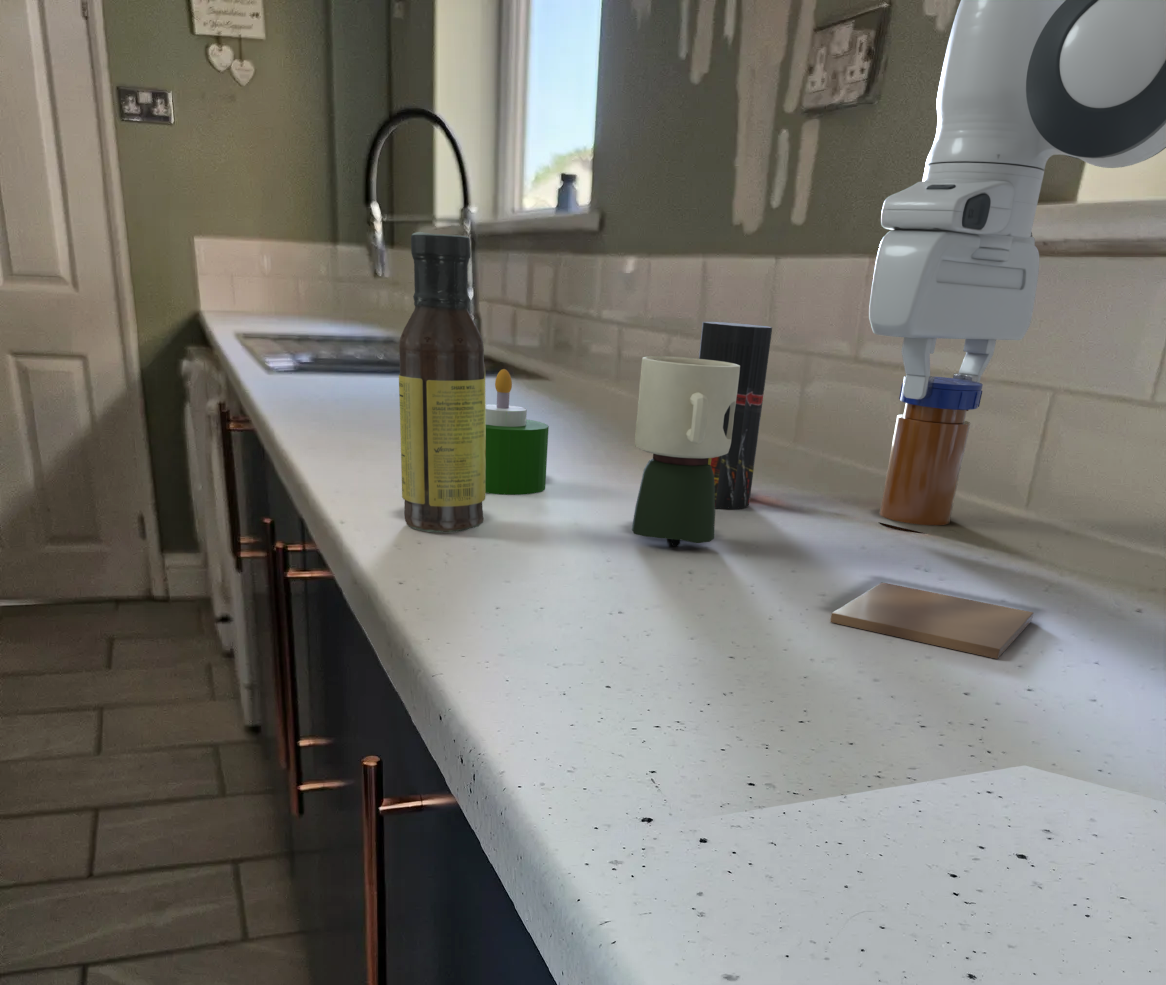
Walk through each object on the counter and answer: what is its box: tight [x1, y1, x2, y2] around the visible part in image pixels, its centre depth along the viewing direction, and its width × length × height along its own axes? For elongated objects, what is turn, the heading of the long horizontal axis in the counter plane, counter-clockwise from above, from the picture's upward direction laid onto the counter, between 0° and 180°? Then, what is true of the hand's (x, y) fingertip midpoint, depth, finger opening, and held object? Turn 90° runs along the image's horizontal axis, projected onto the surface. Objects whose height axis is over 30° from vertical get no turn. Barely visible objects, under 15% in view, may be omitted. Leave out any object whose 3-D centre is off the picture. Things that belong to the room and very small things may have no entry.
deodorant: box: [698, 321, 773, 510], centre depth 96 cm, size 6×6×15 cm
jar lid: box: [898, 375, 984, 411], centre depth 91 cm, size 6×6×2 cm
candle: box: [485, 368, 550, 496], centre depth 97 cm, size 8×8×10 cm
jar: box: [878, 403, 972, 535], centre depth 94 cm, size 6×6×11 cm
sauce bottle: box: [398, 231, 487, 533], centre depth 79 cm, size 6×6×20 cm
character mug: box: [631, 355, 740, 547], centre depth 81 cm, size 11×7×13 cm, turn 6°
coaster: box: [830, 581, 1034, 660], centre depth 68 cm, size 10×10×1 cm
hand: (940, 397), depth 91 cm, fingers closed on jar lid, 6 cm apart
